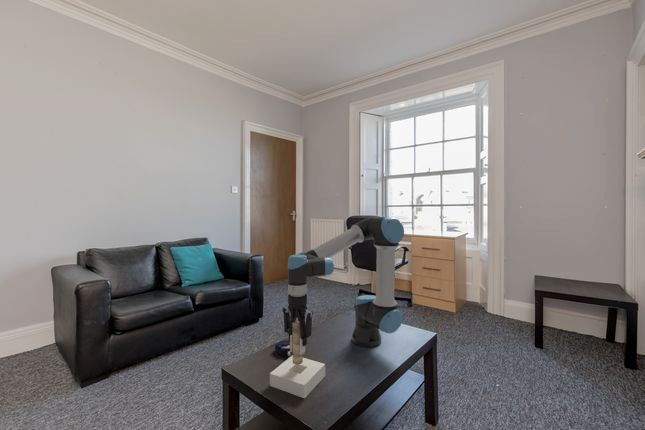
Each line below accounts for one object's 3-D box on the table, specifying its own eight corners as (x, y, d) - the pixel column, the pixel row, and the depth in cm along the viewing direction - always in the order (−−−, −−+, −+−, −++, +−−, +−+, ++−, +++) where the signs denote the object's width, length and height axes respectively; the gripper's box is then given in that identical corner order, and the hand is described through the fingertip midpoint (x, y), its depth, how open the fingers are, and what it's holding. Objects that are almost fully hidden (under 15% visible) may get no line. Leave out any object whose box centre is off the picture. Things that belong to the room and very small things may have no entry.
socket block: (293, 365, 128) (293, 354, 128) (325, 375, 120) (325, 364, 120) (270, 385, 114) (269, 373, 114) (304, 398, 106) (304, 385, 106)
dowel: (296, 358, 119) (296, 319, 119) (304, 360, 118) (304, 321, 117) (290, 362, 116) (290, 323, 115) (299, 365, 114) (298, 325, 114)
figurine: (291, 354, 130) (272, 343, 141) (291, 363, 130) (272, 351, 141) (306, 347, 136) (286, 337, 147) (306, 356, 137) (286, 345, 147)
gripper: (274, 293, 117) (274, 350, 118) (310, 299, 109) (311, 361, 109) (285, 288, 123) (285, 343, 124) (320, 294, 115) (320, 352, 116)
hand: (297, 351), depth 117 cm, fingers closed on dowel, 4 cm apart
